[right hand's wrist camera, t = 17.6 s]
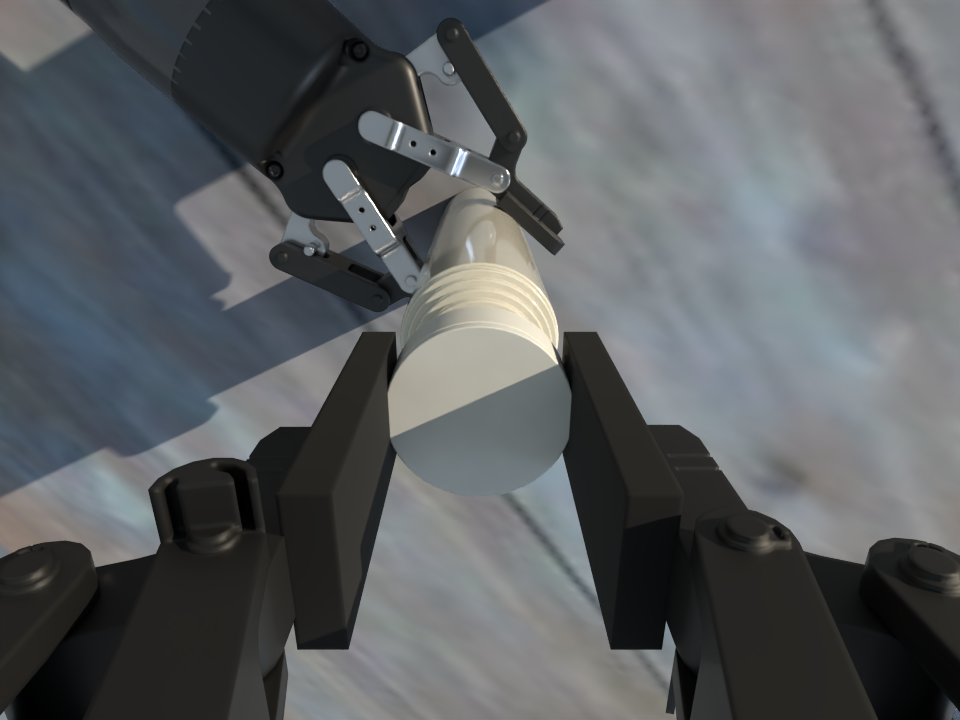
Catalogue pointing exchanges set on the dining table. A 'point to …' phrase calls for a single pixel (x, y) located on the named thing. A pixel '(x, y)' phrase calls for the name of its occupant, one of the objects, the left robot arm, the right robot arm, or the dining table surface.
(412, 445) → the cap
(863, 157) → the dining table surface
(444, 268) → the bottle
